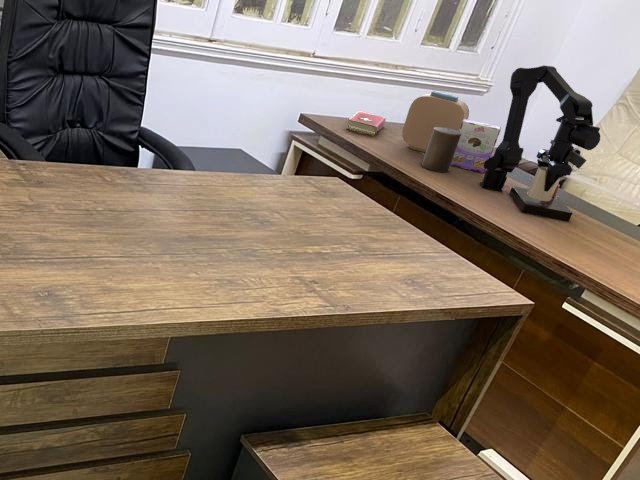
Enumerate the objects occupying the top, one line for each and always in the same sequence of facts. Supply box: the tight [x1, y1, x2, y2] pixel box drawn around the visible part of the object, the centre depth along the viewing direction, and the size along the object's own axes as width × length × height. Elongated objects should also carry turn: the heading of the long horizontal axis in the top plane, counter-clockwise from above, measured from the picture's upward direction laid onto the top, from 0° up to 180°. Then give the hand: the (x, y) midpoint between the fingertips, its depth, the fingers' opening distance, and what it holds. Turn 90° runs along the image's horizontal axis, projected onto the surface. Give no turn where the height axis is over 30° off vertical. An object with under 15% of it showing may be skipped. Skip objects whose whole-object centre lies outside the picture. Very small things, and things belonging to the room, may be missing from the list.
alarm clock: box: [401, 90, 470, 154], centre depth 305 cm, size 21×10×22 cm, turn 58°
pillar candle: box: [421, 127, 461, 173], centre depth 285 cm, size 10×10×15 cm
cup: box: [527, 167, 562, 201], centre depth 257 cm, size 7×7×9 cm
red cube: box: [552, 183, 561, 197], centre depth 267 cm, size 4×4×4 cm
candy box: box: [450, 118, 502, 174], centre depth 292 cm, size 14×6×16 cm, turn 65°
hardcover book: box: [346, 110, 387, 137], centre depth 327 cm, size 12×21×4 cm, turn 155°
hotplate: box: [508, 185, 573, 223], centre depth 264 cm, size 16×21×3 cm
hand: (542, 187), depth 257 cm, fingers closed on cup, 7 cm apart
